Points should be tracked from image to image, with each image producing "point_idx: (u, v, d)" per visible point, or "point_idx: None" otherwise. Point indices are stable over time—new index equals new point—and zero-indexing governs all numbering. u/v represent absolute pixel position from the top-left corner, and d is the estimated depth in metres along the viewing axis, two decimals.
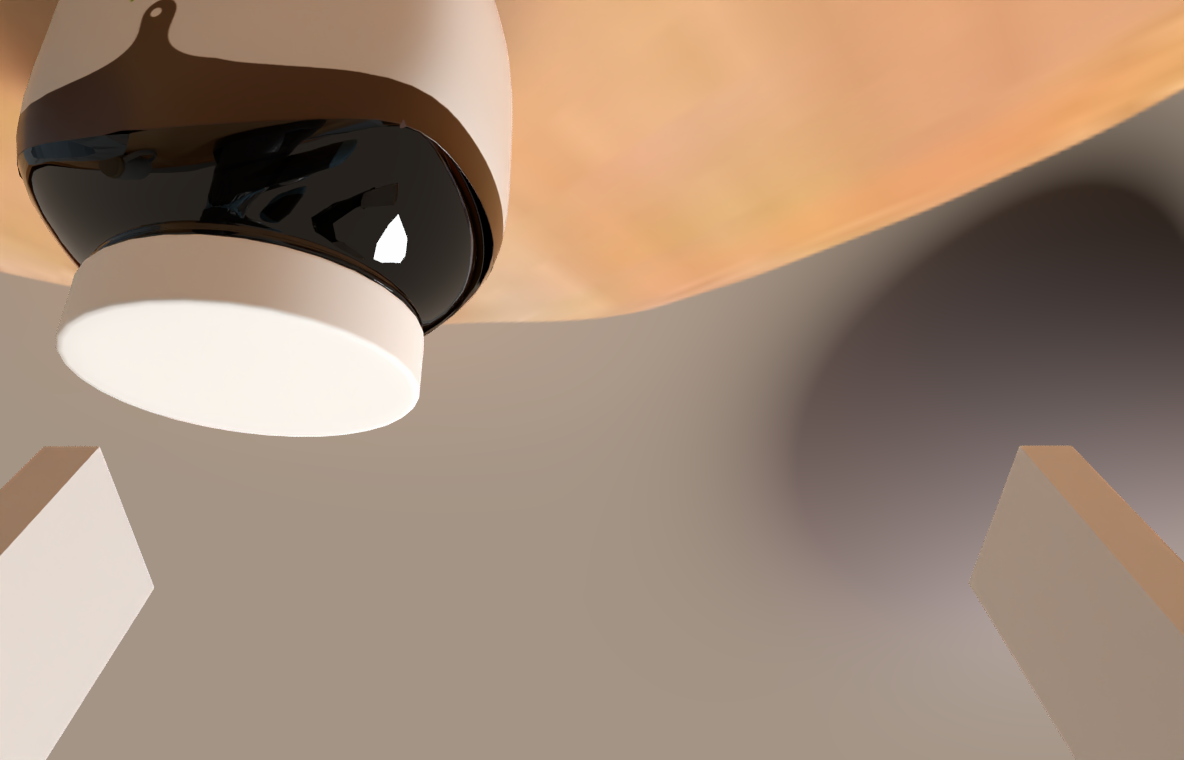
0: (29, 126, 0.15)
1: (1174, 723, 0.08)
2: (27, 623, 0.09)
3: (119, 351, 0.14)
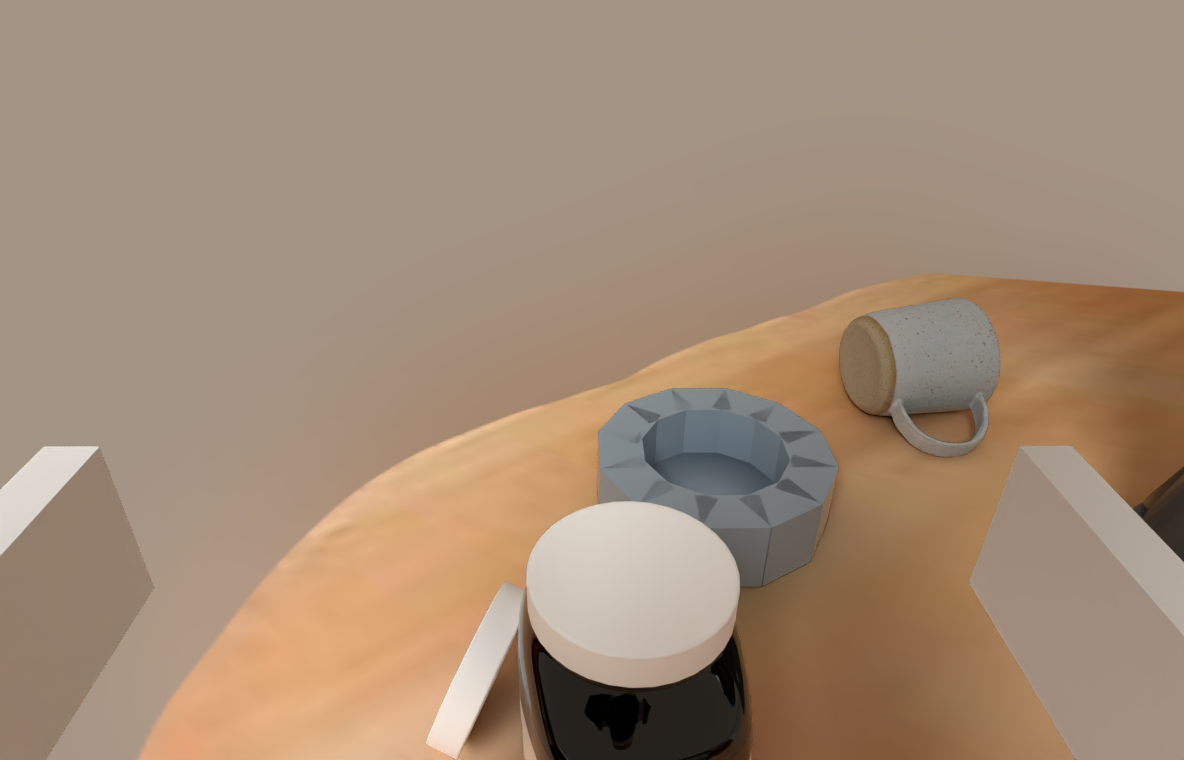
0: None
1: (1174, 723, 0.08)
2: (27, 623, 0.09)
3: (671, 528, 0.26)
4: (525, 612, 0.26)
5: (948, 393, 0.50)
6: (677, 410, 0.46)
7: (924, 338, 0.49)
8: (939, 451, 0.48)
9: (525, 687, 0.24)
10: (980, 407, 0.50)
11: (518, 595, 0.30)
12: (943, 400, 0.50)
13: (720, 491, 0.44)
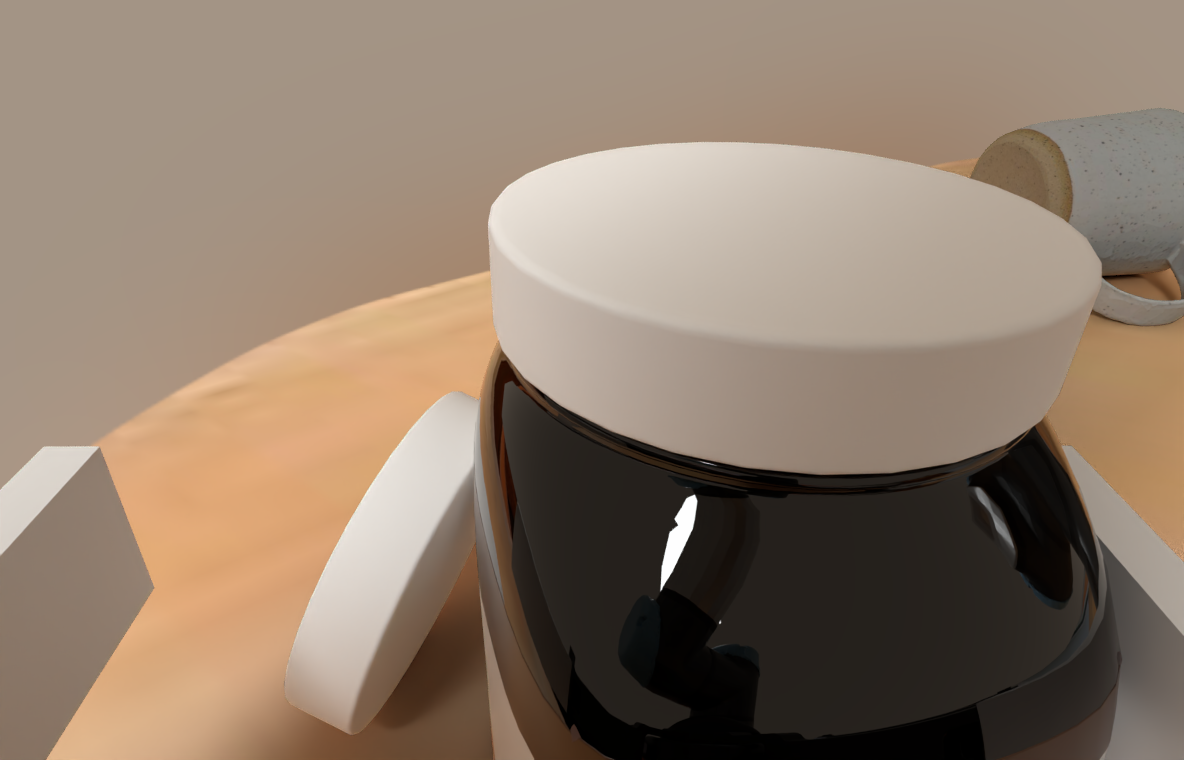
0: None
1: (1174, 722, 0.08)
2: (27, 623, 0.09)
3: (848, 167, 0.11)
4: (491, 362, 0.10)
5: (1144, 235, 0.34)
6: None
7: (1113, 149, 0.33)
8: (1137, 314, 0.32)
9: (486, 526, 0.09)
10: None
11: None
12: (1134, 247, 0.34)
13: None
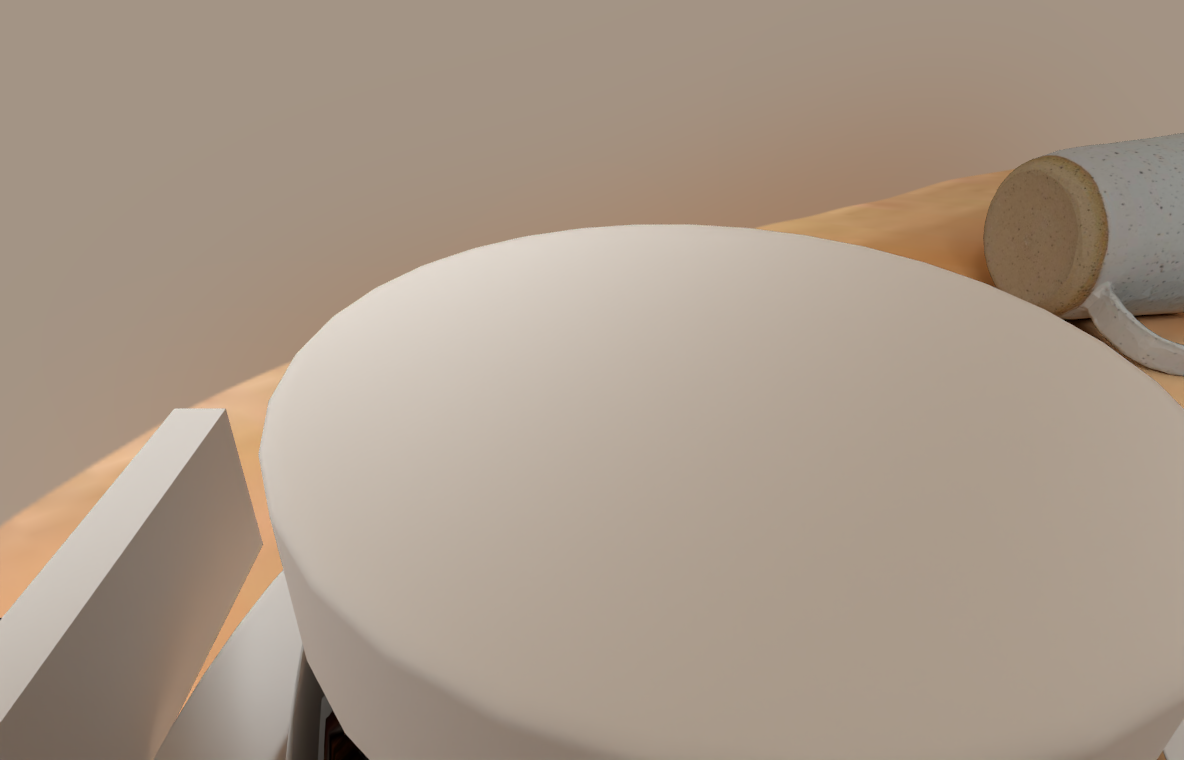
0: None
1: None
2: (177, 565, 0.10)
3: (835, 273, 0.08)
4: None
5: None
6: None
7: (1152, 180, 0.30)
8: (1181, 364, 0.29)
9: None
10: None
11: None
12: (1174, 287, 0.31)
13: None
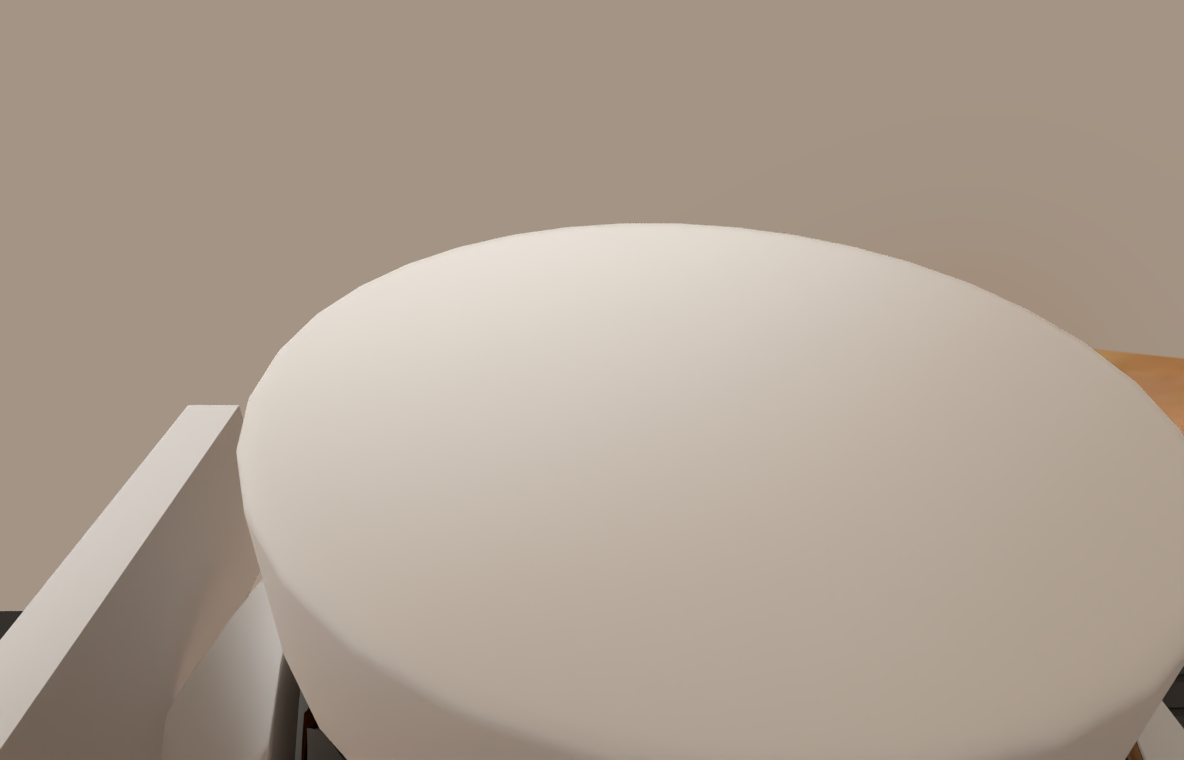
0: None
1: None
2: (193, 559, 0.10)
3: (818, 272, 0.08)
4: None
5: None
6: None
7: None
8: None
9: None
10: None
11: None
12: None
13: None
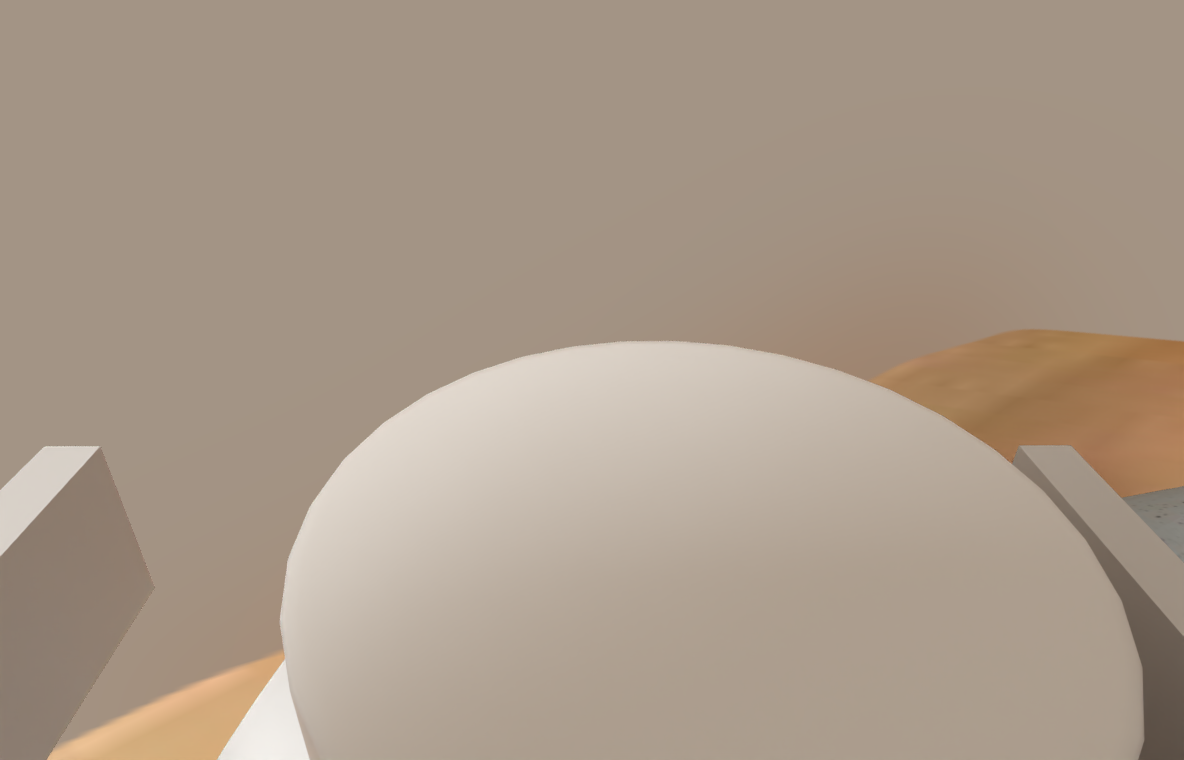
0: None
1: (1173, 722, 0.08)
2: (28, 623, 0.09)
3: (804, 404, 0.08)
4: None
5: None
6: None
7: None
8: None
9: None
10: None
11: None
12: None
13: None
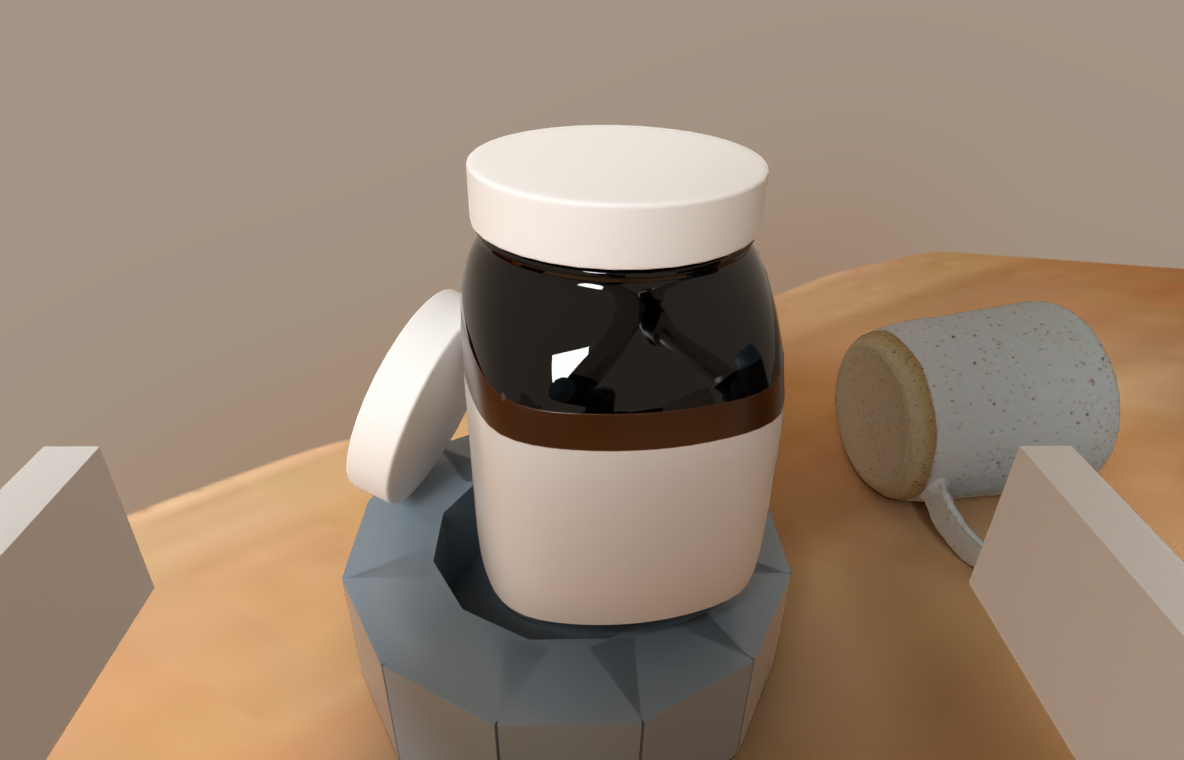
0: None
1: (1174, 723, 0.08)
2: (27, 623, 0.09)
3: (672, 138, 0.19)
4: None
5: None
6: None
7: (986, 372, 0.28)
8: None
9: (465, 322, 0.17)
10: None
11: None
12: None
13: None
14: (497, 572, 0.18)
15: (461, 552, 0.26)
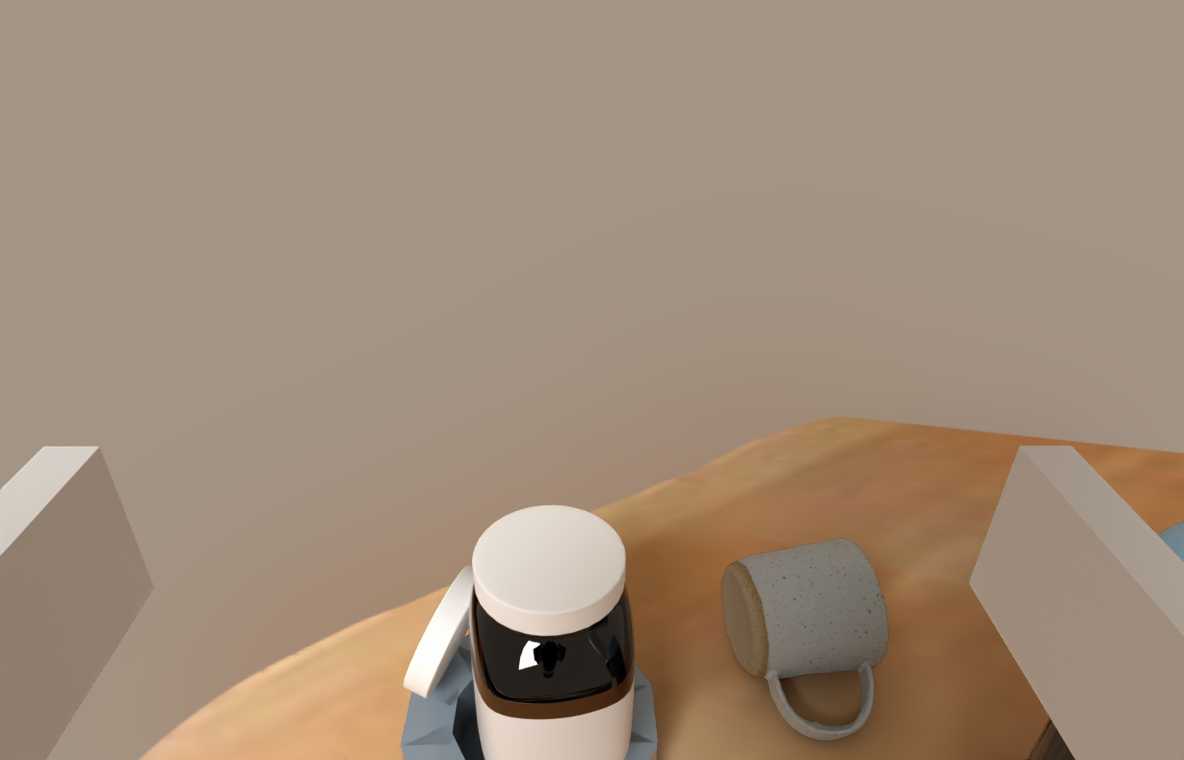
0: None
1: (1174, 723, 0.08)
2: (27, 623, 0.09)
3: (582, 525, 0.35)
4: (474, 585, 0.35)
5: (830, 663, 0.44)
6: None
7: (801, 605, 0.43)
8: (815, 736, 0.43)
9: (471, 638, 0.34)
10: (866, 678, 0.44)
11: None
12: (825, 668, 0.45)
13: None
14: None
15: (468, 713, 0.42)
